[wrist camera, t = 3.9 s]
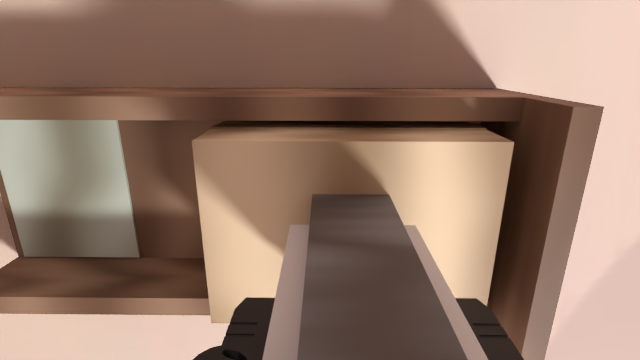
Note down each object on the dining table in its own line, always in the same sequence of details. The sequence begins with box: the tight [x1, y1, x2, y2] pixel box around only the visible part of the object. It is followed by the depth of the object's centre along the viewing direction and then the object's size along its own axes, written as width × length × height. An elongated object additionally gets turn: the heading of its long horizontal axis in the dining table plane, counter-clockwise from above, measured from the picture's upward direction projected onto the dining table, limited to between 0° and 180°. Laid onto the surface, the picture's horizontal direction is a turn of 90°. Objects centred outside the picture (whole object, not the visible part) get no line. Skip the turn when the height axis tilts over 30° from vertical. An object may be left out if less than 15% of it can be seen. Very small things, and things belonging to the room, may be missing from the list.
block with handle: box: [192, 121, 514, 360], centre depth 14 cm, size 12×8×15 cm
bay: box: [0, 88, 604, 360], centre depth 18 cm, size 28×11×8 cm, turn 90°
